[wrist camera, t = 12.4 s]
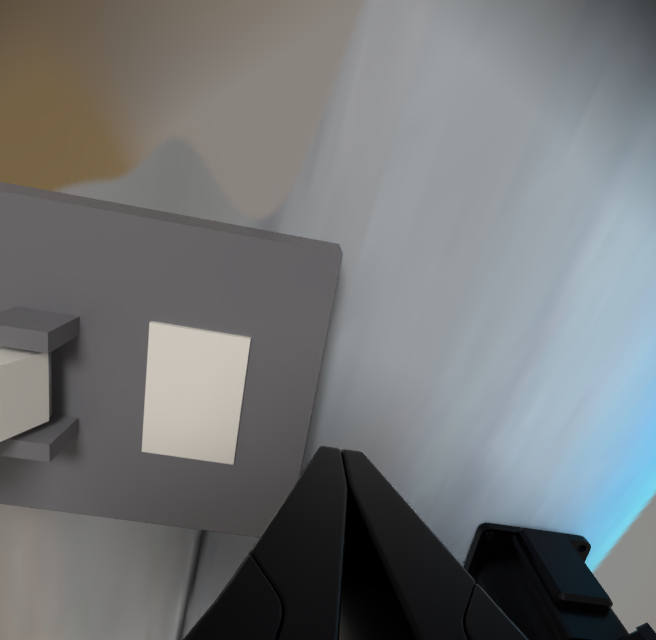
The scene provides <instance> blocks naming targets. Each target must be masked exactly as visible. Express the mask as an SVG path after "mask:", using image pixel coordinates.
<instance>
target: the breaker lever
mask: <svg viewBox="0 0 656 640" xmlns="http://www.w3.org/2000/svg"><path fill="white" fill-rule="evenodd" d="M51 415H52V373H51V352H50V353H48V354H47V353H41V352H35V351H28V350H22V349H16V348H9V347H3V346H1V347H0V442H1V441H4V440H6V439H8V438H11V437H13V436H15V435H18V434H20V433H22V432H24V431H27V430H29V429H31V428H34V427H36V426H38V425H41V424H43V423H45V422H48V421H49V417H50V416H51Z"/></svg>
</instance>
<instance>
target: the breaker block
mask: <svg viewBox="0 0 656 640" xmlns="http://www.w3.org/2000/svg"><path fill="white" fill-rule="evenodd" d="M341 259H342V251H341V248H340V246H339V244H335V243H330V242H324V241H319V240H313V239H308V238H302V237H297V236H292V235H286V234H281V233H275V232H270V231H264V230H259V229H254V228H248V227H243V226H237V225H232V224H226V223H221V222H216V221H210V220H205V219H199V218H194V217H188V216H183V215H177V214H172V213H167V212H161V211H156V210H150V209H145V208H139V207H134V206H129V205H123V204H118V203H112V202H107V201H101V200H96V199H90V198H85V197H80V196H74V195H69V194H63V193H58V192H52V191H47V190H41V189H36V188H30V187H25V186H19V185H14V184H9V183H4V182H0V347H1V346H3V347H9V348H16V349H22V350H28V351H35V352H41V353H47V354H48V353H50V352H51V373H52V415H51V416H50V417H49V421H48V422H45V423H43V424H41V425H38V426H36V427H34V428H31V429H29V430H27V431H24V432H22V433H20V434H18V435H15V436H13V437H11V438H8V439H6V440H4V441H1V442H0V504H7V505H15V506H22V507H30V508H38V509H45V510H53V511H61V512H68V513H76V514H84V515H91V516H99V517H107V518H114V519H122V520H130V521H138V522H145V523H153V524H161V525H168V526H176V527H184V528H191V529H199V530H207V531H214V532H222V533H230V534H237V535H245V536H253V537H260V536H261V534H262V533H263V531H264V530H265V528H266V527H267V525H268V524H269V522H270V521H271V519H272V518H273V516H274V515H275V513H276V512H277V510H278V509H279V507H280V506H281V504H282V503H283V501H284V500H285V498H286V497H287V495H288V494H289V492H290V491H291V489H292V488H293V486H294V485H295V483H296V482H297V480H298V479H299V476H300V470H301V465H302V460H303V455H304V450H305V445H306V439H307V434H308V429H309V424H310V419H311V414H312V408H313V403H314V398H315V393H316V388H317V383H318V377H319V372H320V367H321V362H322V357H323V352H324V346H325V341H326V336H327V331H328V326H329V321H330V315H331V310H332V305H333V300H334V295H335V290H336V284H337V279H338V274H339V269H340V264H341Z"/></svg>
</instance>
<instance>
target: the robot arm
mask: <svg viewBox="0 0 656 640" xmlns="http://www.w3.org/2000/svg"><path fill="white" fill-rule="evenodd" d="M488 532H490V533H488ZM486 533H488V534H486ZM590 549H591V546H590V544H589V542H588V541H587V540H586V539H585V538H584V537H583V536H578V535H570V534H563V533H556V532H549V531H541V530H534V529H527V528H520V527H513V526H505V525H498V524H491V523H485V524H482V525H481V526H480V527H479V529H478V531H477V534H476V536H475V539H474V542H473V545H472V548H471V550H470V553H469V556H468V559H467V562H466V564H465V567H463V566H462V565H461V564H460V563H459V562H458V561H457V560H456V558H455V557H454V556H453V555H452V554H451V553H450V552H449V550H448V549H447V548H446V547H445V546H444V545H443V544H442V542H441V541H440V540H439V539H438V538H437V537H436V536H435V534H434V533H433V532H432V531H431V530H430V529H429V528H428V526H427V525H426V524H425V523H424V522H423V521H422V520H421V519H420V517H419V516H418V515H417V514H416V513H415V512H414V511H413V509H412V508H411V507H410V506H409V505H408V504H407V503H406V501H405V500H404V499H403V498H402V497H401V496H400V495H399V493H398V492H397V491H396V490H395V489H394V488H393V487H392V485H391V484H390V483H389V482H388V481H387V480H386V479H385V478H384V476H383V475H382V474H381V473H380V472H379V471H378V470H377V468H376V467H375V466H374V465H373V464H372V463H371V462H370V460H369V459H368V458H367V457H366V456H365V455H364V454H363V453H362V452H359V451H352V450H342V451H341V450H340V449H338V448H332V447H325V446H321V447H320V448H319V449H318V450H317V452H316V453H315V455H314V456H313V458H312V459H311V461H310V462H309V464H308V465H307V467H306V468H305V470H304V471H303V473H302V474H301V476H300V477H299V479H298V480H297V482H296V483H295V485H294V486H293V488H292V489H291V491H290V492H289V494H288V495H287V497H286V498H285V500H284V501H283V503H282V504H281V506H280V507H279V509H278V510H277V512H276V513H275V515H274V516H273V518H272V519H271V521H270V522H269V524H268V525H267V527H266V528H265V530H264V531H263V533H262V534H261V536H260V537H259V539H258V540H257V542H256V543H255V545H254V546H253V548H252V549H251V551H250V552H249V555H248V556H247V557H246V558H245V559H244V561H243V562H242V564H241V565H240V567H239V568H238V570H237V571H236V573H235V574H234V576H233V577H232V578H231V580H230V581H229V582H228V584H227V585H226V587H225V588H224V589H223V591H222V592H221V593H220V595H219V596H218V598H217V599H216V600H215V602H214V603H213V604H212V605H211V607H210V608H209V609H208V610H207V611H206V613H205V614H204V615H203V616H202V617H201V619H200V620H199V621H198V622H197V623H196V625H195V626H194V627H193V628H192V629H191V631H190V632H189V633H188V634H187V635H186V636H185V638H184V639H183V640H656V633H655V632H654V630H653V629H652V628H651V627H650V625H649V624H648V623H645V624H643V625H641V626H638V627H636V629H637V630H636V631H634V632H632V633H630V634H629V633H628V632H627V630H626V629H625V627H624V626H623V624H622V623H621V622H620V620H619V619H618V617H617V616H616V615H615V613H614V612H613V610H612V609H611V607H612V605H613V603H612V601H611V599H610V598H609V596H608V595H607V593H606V592H605V591H604V589H603V588H602V586H601V585H600V584H599V582H598V581H597V579H596V578H595V577H594V575H593V574H592V572H591V571H590V570H589V568H588V567H587V565H586V564H585V563H584V562H585V560H586V558H587V556H588V554H589V551H590Z"/></svg>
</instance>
